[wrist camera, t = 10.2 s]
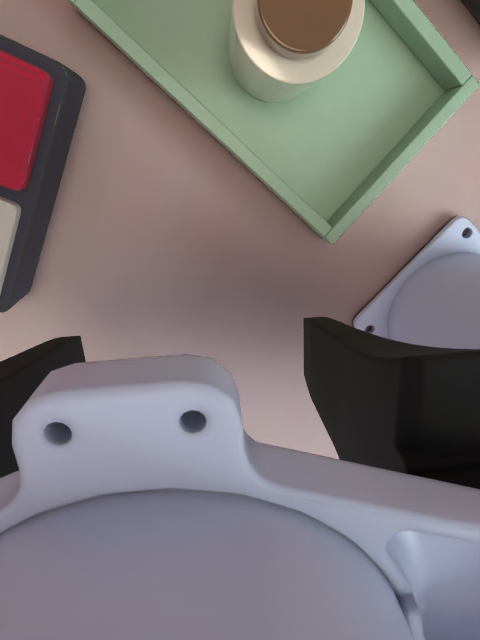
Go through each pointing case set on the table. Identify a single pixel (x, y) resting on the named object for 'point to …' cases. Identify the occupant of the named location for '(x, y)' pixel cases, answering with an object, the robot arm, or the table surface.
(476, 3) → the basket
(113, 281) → the table surface
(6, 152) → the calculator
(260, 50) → the spice jar
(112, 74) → the table surface
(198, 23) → the tray
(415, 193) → the table surface
